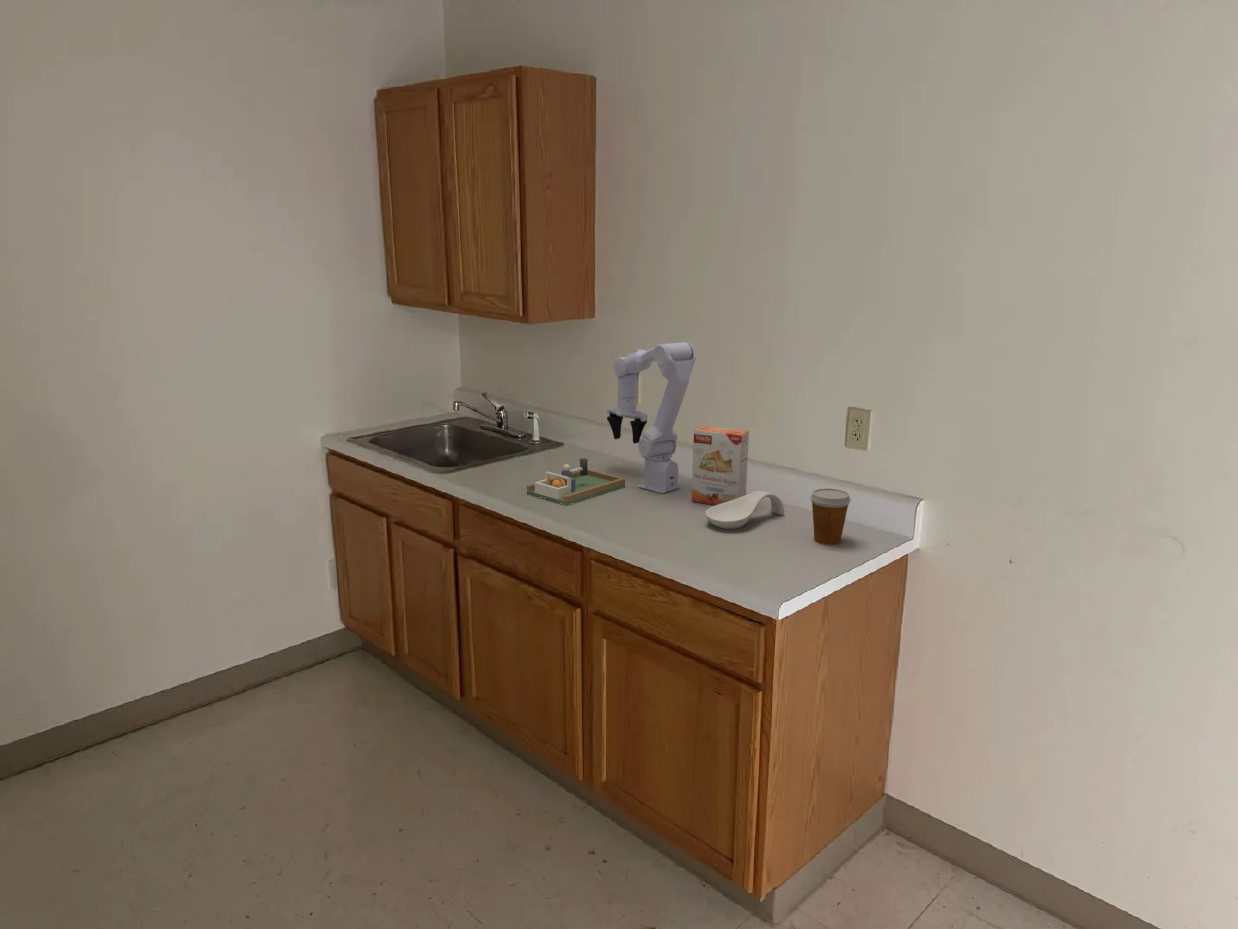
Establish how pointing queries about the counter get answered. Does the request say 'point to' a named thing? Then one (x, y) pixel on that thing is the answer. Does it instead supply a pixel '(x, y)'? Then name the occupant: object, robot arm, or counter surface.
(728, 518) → the spoon rest
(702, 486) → the cracker box
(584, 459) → the striker
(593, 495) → the pitch
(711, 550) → the counter surface
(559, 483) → the ball
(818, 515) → the disposable coffee cup
